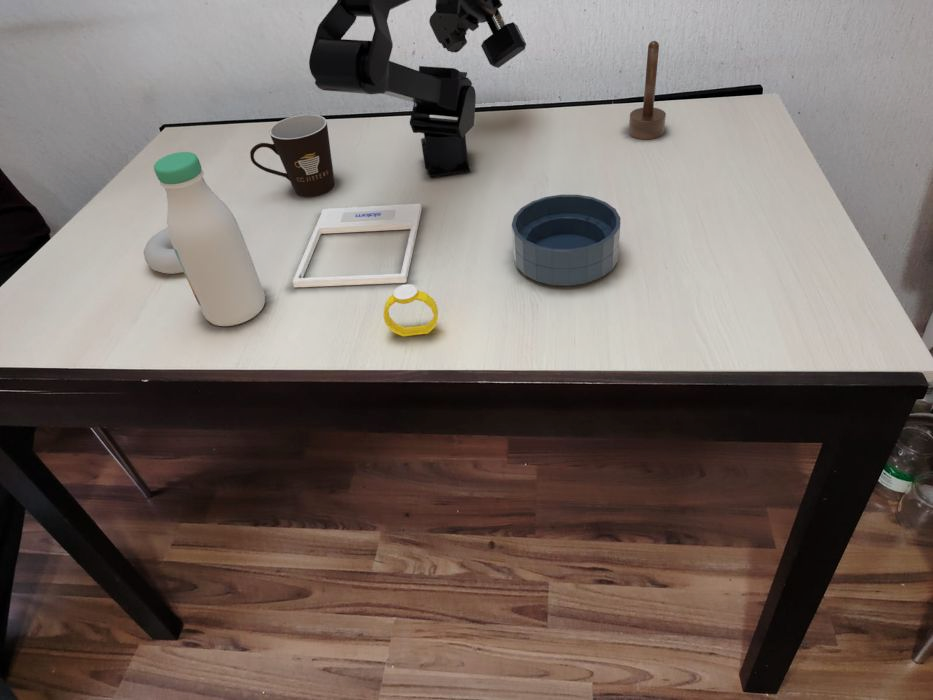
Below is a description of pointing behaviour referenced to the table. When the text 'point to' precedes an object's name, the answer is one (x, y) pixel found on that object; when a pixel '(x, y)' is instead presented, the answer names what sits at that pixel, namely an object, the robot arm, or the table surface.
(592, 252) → the bowl
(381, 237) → the table surface
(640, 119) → the wooden plunger
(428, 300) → the watch
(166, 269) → the donut
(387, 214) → the photo frame
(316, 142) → the coffee mug
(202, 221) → the milk bottle
